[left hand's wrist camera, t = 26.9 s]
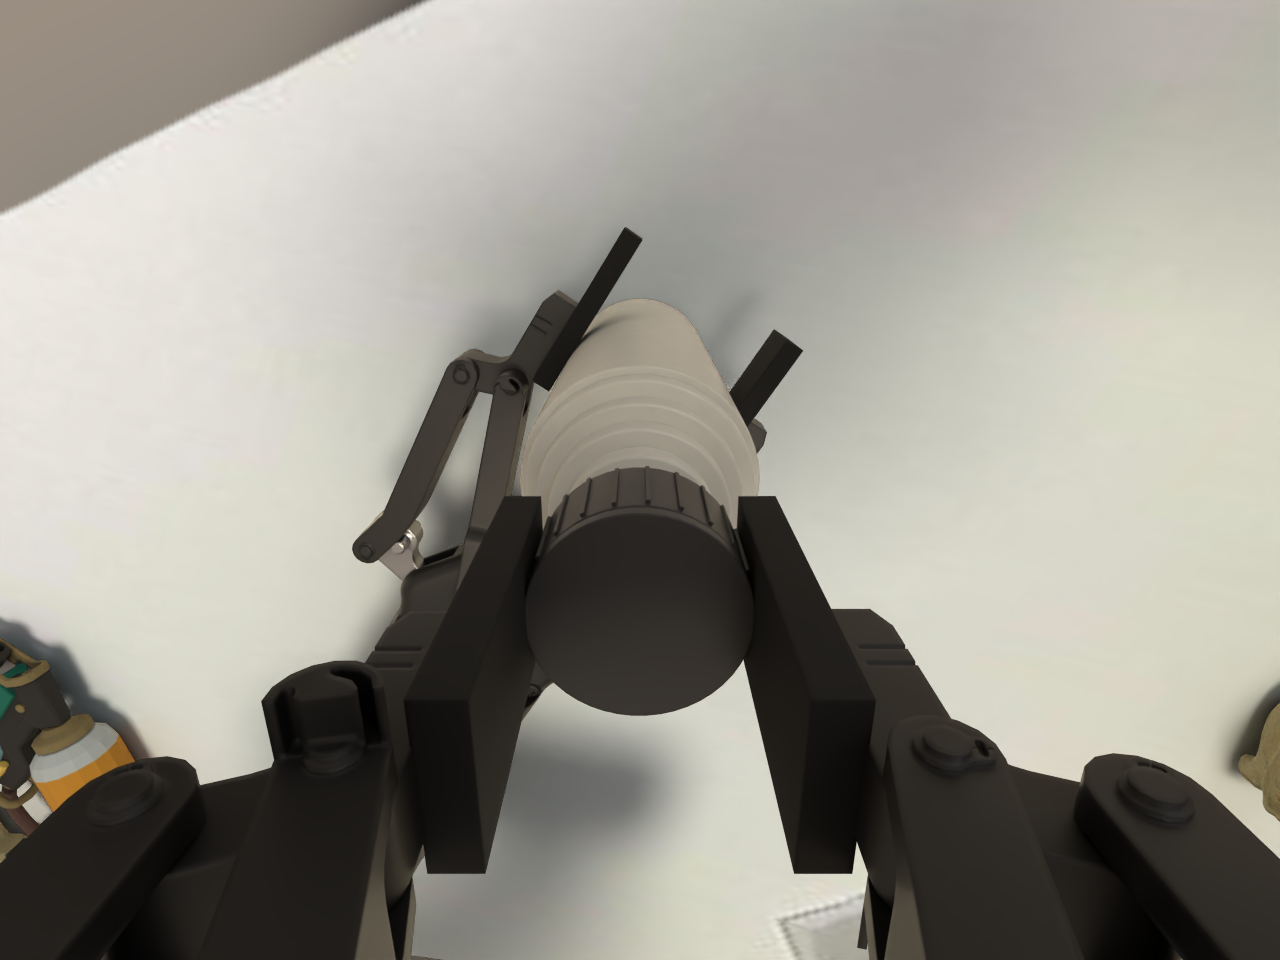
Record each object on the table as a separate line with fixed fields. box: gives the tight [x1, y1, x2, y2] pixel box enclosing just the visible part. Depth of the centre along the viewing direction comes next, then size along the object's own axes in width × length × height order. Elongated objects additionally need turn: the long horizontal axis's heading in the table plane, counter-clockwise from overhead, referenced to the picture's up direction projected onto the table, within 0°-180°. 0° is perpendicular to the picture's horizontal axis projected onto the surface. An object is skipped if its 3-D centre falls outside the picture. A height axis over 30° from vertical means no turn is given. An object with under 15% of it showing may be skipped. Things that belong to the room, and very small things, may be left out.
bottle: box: [520, 299, 759, 530], centre depth 24 cm, size 6×6×23 cm
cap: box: [525, 466, 754, 716], centre depth 14 cm, size 4×4×2 cm
